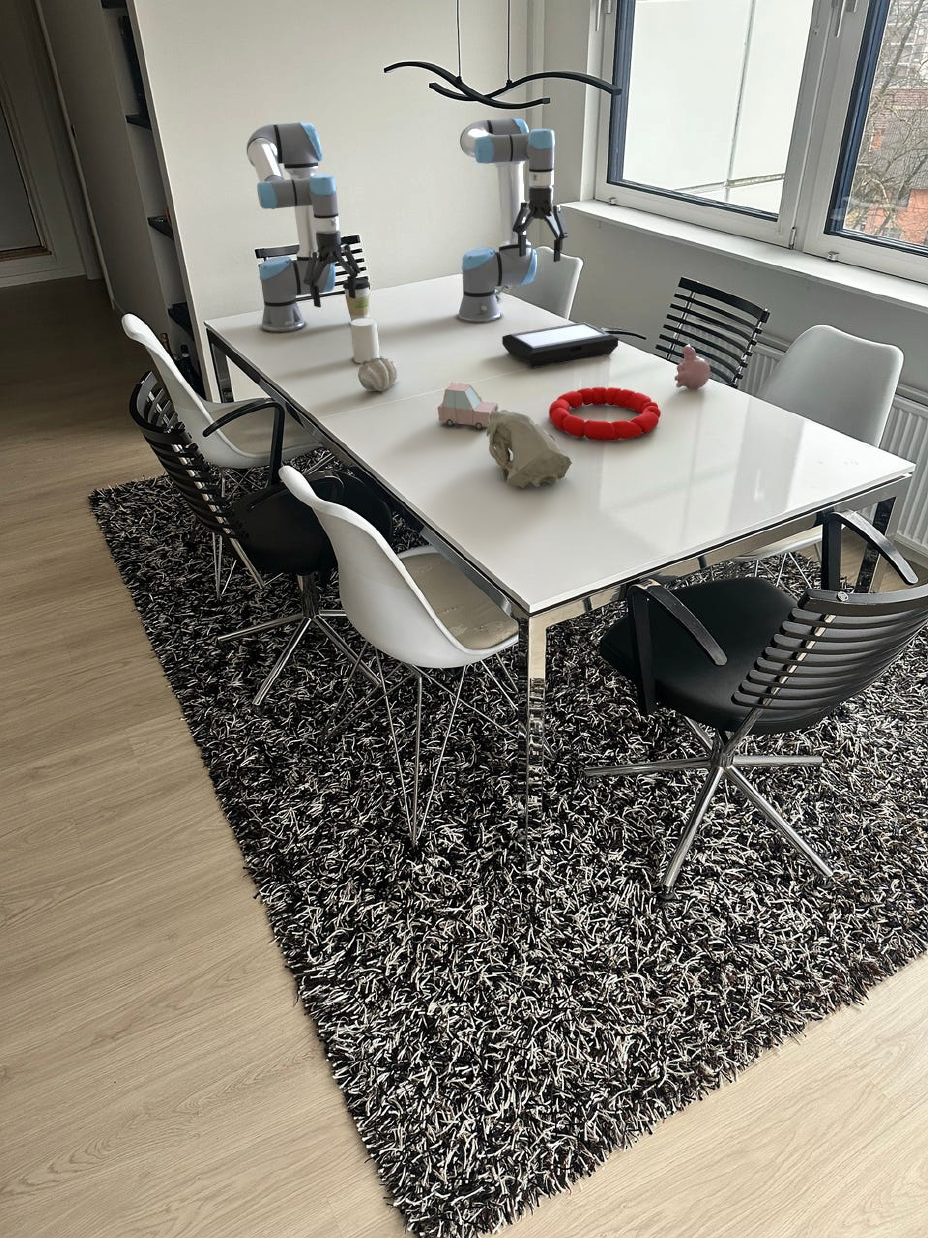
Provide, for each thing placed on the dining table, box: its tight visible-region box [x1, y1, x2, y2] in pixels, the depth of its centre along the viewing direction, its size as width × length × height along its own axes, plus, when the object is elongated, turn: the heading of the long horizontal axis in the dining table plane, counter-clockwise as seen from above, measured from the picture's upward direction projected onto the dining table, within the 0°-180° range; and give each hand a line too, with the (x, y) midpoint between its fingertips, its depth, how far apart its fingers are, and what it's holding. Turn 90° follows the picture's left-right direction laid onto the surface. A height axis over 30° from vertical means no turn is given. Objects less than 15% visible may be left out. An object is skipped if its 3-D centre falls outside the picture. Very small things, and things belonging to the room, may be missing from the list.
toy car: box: [437, 382, 499, 431], centre depth 243 cm, size 9×15×10 cm, turn 70°
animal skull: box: [485, 409, 573, 489], centre depth 216 cm, size 17×25×20 cm
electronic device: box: [501, 321, 619, 369], centre depth 290 cm, size 32×6×20 cm
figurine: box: [674, 344, 711, 390], centre depth 259 cm, size 9×11×12 cm
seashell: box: [357, 357, 398, 392], centre depth 266 cm, size 10×15×10 cm
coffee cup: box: [342, 277, 371, 322], centre depth 323 cm, size 10×10×15 cm
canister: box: [350, 317, 381, 364], centre depth 290 cm, size 8×8×12 cm
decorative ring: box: [548, 386, 661, 442], centre depth 242 cm, size 7×30×30 cm
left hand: (335, 302), depth 285 cm, fingers open, 13 cm apart
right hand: (539, 258), depth 287 cm, fingers open, 13 cm apart
